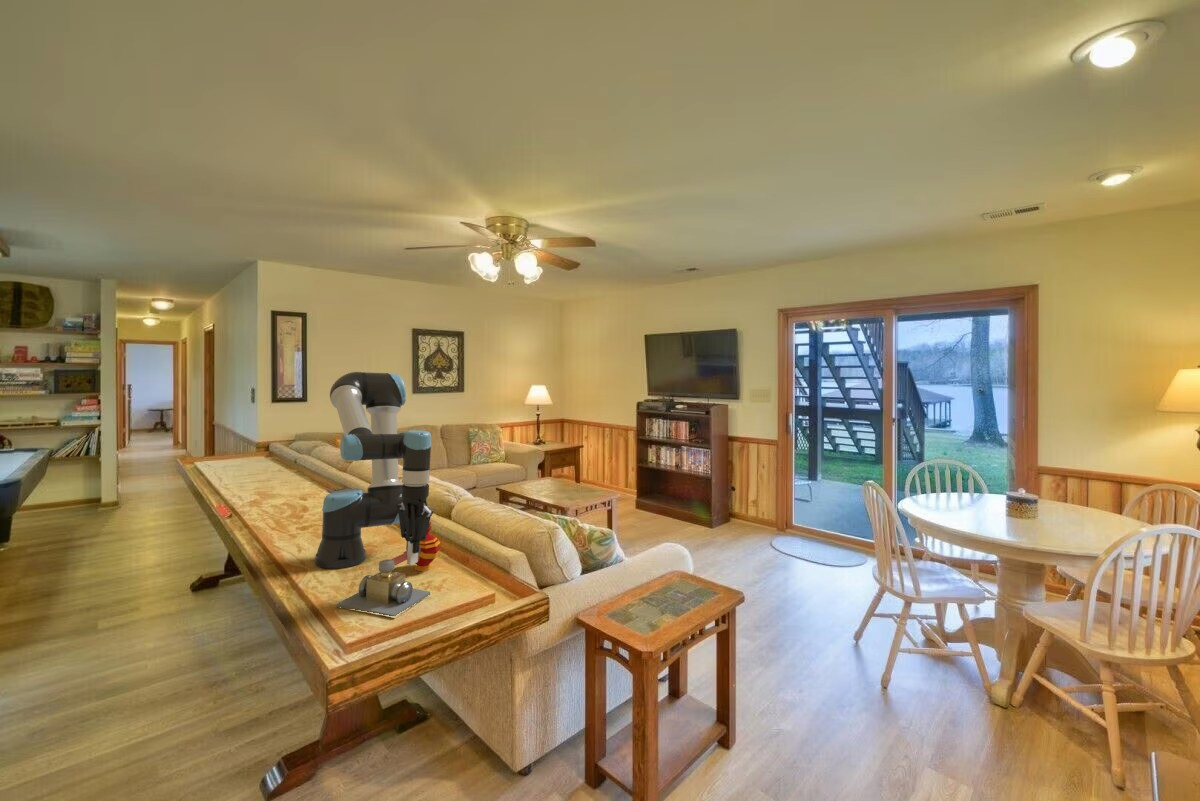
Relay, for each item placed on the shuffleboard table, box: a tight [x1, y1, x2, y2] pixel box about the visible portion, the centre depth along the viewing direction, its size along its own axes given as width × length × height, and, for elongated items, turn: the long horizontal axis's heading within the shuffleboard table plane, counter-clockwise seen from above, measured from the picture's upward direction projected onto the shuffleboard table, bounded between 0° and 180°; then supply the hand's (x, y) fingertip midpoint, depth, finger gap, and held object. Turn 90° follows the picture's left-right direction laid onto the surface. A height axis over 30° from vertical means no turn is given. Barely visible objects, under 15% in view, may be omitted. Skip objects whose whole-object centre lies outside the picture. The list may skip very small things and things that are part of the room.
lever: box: [378, 548, 421, 572], centre depth 148 cm, size 16×4×2 cm, turn 165°
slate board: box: [336, 588, 431, 616], centre depth 143 cm, size 18×16×1 cm
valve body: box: [358, 570, 414, 605], centre depth 143 cm, size 14×7×8 cm, turn 75°
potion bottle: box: [414, 521, 441, 572], centre depth 168 cm, size 10×10×15 cm
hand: (412, 562), depth 150 cm, fingers closed
